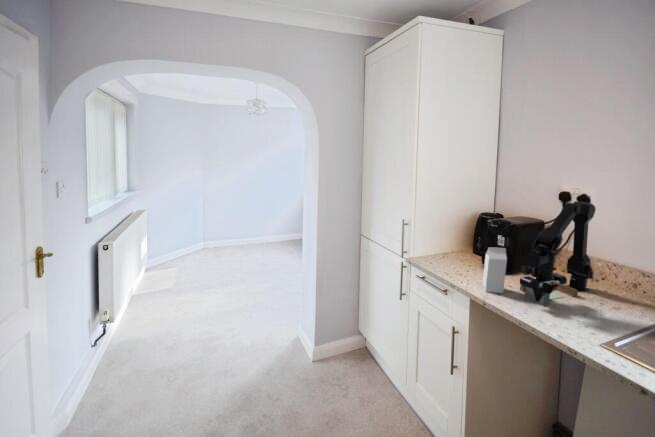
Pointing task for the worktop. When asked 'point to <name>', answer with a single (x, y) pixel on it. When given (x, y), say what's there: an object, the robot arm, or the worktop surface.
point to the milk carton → (494, 270)
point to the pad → (555, 295)
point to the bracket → (530, 295)
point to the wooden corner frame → (559, 289)
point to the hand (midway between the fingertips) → (540, 300)
